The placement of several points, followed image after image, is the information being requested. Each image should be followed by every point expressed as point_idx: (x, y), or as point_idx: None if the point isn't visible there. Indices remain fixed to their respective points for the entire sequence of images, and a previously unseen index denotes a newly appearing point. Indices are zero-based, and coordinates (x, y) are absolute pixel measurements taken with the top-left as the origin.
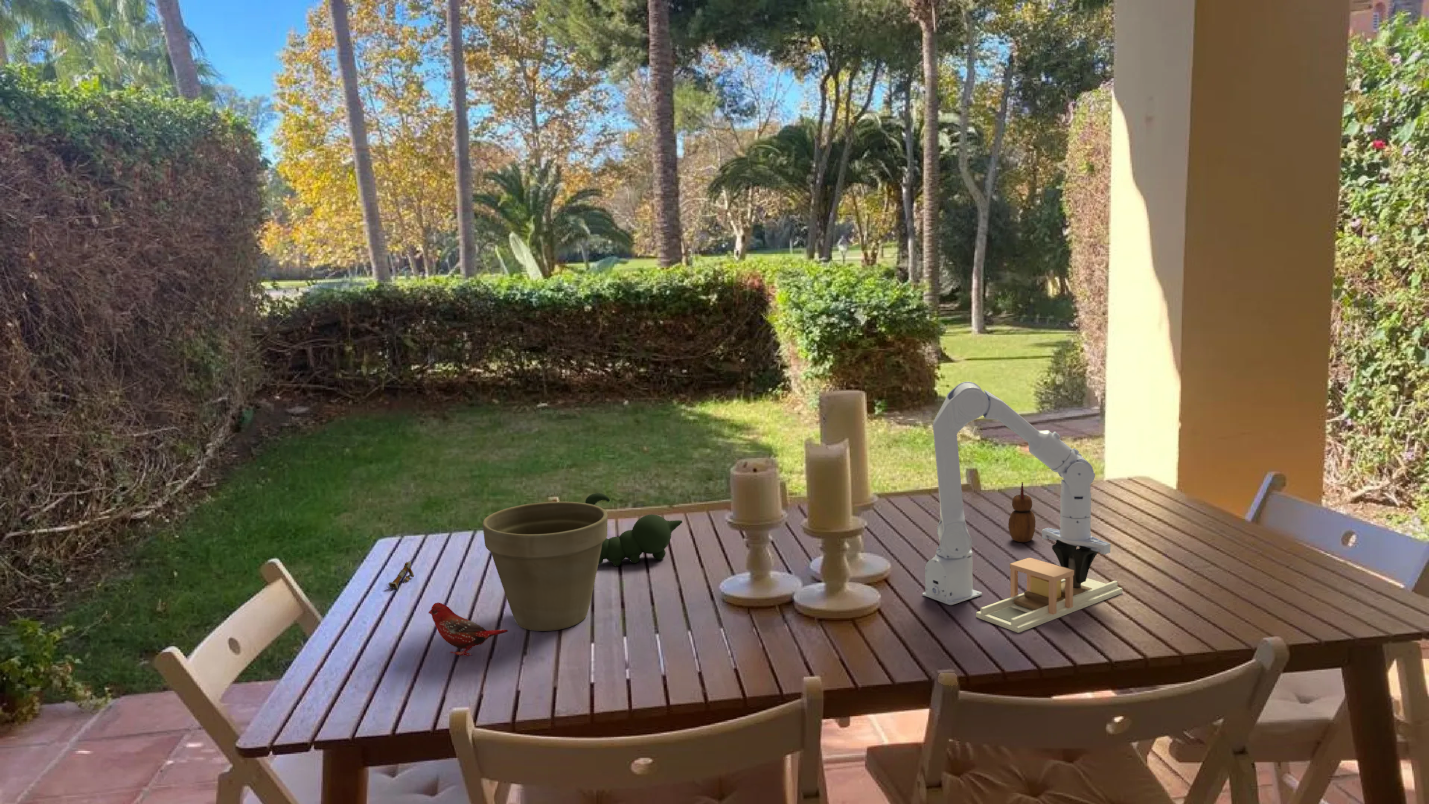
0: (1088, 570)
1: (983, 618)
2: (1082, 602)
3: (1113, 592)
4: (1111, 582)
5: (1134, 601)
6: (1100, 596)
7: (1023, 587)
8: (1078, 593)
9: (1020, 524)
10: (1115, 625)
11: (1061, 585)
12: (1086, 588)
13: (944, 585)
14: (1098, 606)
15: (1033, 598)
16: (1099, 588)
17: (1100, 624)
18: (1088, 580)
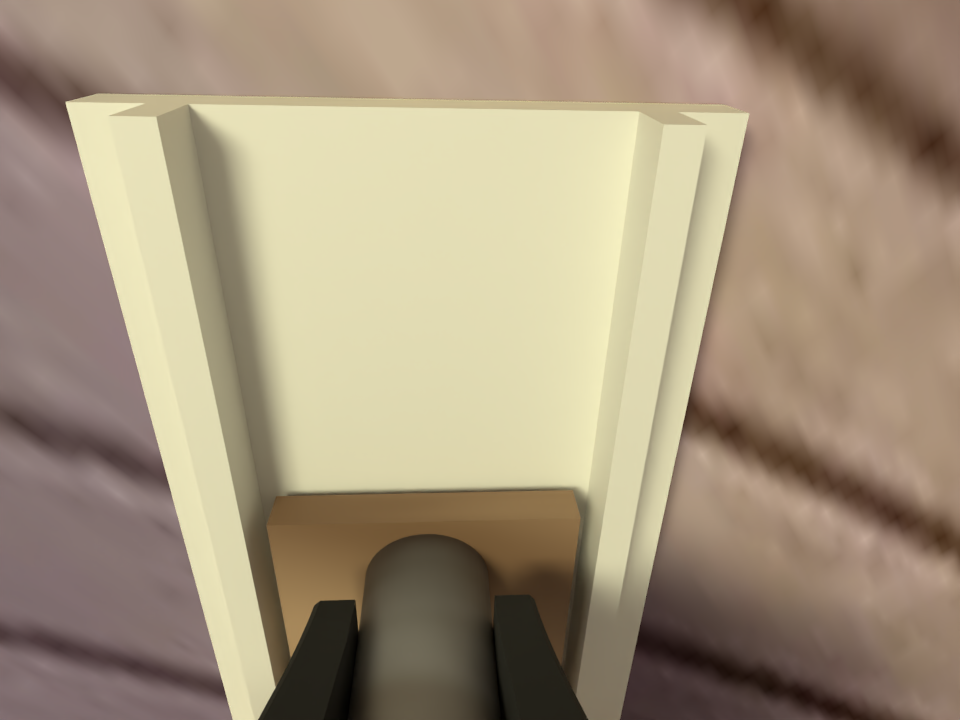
0: (583, 712)
1: None
2: (621, 655)
3: (707, 291)
4: (664, 234)
5: (912, 234)
6: (667, 482)
7: (23, 621)
8: (561, 663)
9: None
10: (908, 679)
11: None
12: (543, 550)
13: None
14: (690, 536)
15: None
16: (641, 474)
17: (826, 716)
18: (279, 172)
